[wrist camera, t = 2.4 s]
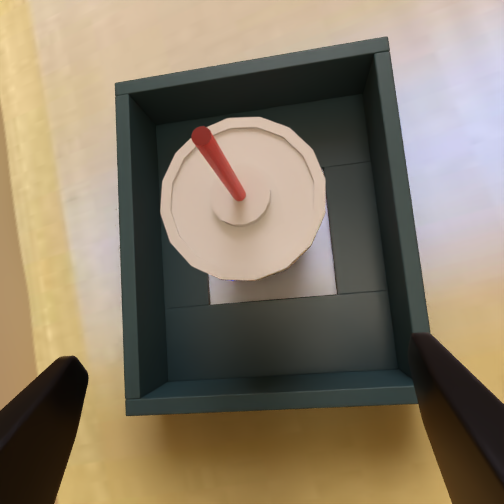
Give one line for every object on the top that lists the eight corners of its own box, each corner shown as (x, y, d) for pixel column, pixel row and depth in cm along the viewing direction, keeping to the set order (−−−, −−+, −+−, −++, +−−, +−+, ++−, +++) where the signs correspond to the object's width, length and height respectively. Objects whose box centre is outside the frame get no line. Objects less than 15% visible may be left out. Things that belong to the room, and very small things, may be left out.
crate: (414, 382, 20) (441, 403, 16) (157, 395, 22) (125, 416, 18) (373, 81, 22) (388, 35, 18) (145, 117, 24) (114, 82, 20)
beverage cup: (282, 168, 22) (244, -37, 9) (339, 252, 21) (398, 168, 8) (199, 222, 23) (35, 108, 9) (250, 308, 22) (153, 325, 8)
